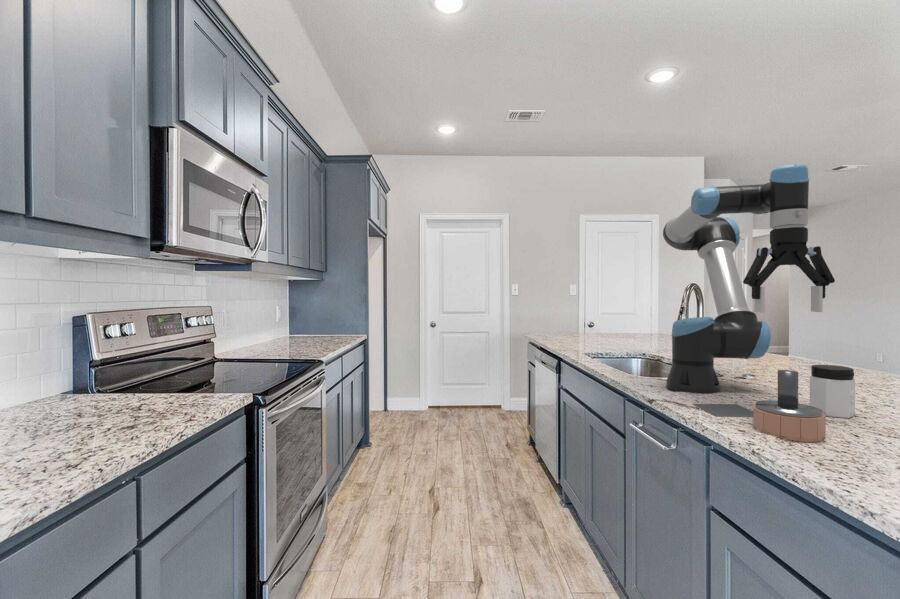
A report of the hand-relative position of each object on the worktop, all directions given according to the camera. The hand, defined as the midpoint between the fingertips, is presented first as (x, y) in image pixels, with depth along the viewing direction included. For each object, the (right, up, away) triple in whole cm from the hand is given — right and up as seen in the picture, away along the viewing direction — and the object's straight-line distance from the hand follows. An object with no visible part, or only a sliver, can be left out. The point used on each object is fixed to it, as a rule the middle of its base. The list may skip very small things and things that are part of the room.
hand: (787, 312), depth 107 cm
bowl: (-10, -27, -13) cm, 31 cm away
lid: (-10, -22, -13) cm, 27 cm away
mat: (-13, -26, +4) cm, 30 cm away
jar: (+13, -26, +2) cm, 29 cm away
